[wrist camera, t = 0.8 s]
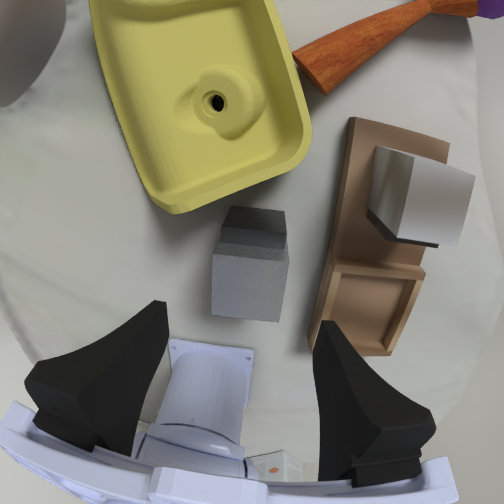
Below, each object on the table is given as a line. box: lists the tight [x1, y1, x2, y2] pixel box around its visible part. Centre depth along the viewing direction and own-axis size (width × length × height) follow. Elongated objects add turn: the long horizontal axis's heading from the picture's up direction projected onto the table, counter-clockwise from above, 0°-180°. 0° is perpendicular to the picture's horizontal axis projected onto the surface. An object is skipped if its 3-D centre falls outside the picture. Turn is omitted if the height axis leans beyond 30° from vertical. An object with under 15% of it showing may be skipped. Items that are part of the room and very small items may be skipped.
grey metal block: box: [211, 206, 289, 322], centre depth 19 cm, size 5×4×6 cm
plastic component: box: [88, 0, 312, 214], centre depth 14 cm, size 20×7×10 cm
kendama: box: [291, 0, 504, 95], centre depth 11 cm, size 6×6×20 cm
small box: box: [247, 450, 303, 482], centre depth 31 cm, size 8×6×13 cm
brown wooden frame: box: [307, 117, 475, 356], centre depth 18 cm, size 18×7×7 cm, turn 175°
